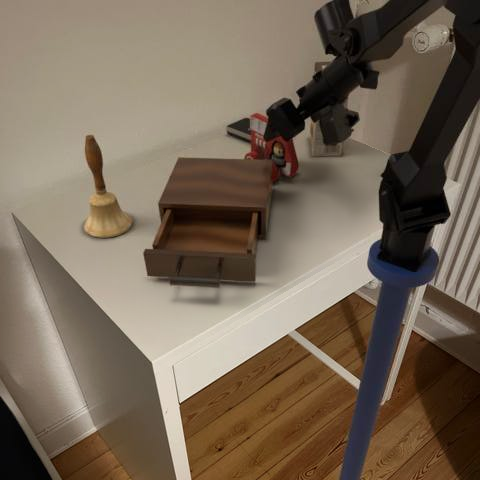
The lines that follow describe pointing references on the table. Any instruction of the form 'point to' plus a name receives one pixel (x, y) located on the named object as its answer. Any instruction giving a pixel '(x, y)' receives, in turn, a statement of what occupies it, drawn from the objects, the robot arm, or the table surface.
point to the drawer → (204, 247)
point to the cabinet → (220, 186)
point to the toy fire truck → (272, 149)
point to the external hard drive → (240, 129)
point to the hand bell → (103, 199)
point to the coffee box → (315, 132)
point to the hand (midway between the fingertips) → (278, 131)
